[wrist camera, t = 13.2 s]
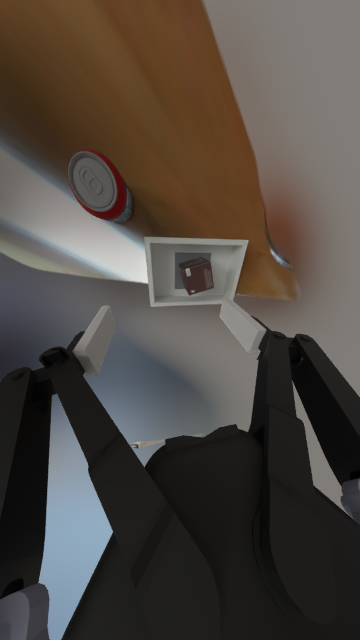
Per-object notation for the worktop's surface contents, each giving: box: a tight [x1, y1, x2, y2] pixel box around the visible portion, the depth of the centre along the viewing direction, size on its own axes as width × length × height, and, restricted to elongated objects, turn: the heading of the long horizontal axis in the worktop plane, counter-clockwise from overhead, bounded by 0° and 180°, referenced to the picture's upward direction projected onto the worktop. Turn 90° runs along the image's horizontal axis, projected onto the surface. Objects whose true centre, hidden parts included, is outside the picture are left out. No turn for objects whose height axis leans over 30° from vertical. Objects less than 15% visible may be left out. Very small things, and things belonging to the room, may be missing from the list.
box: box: [178, 257, 214, 296], centre depth 32 cm, size 6×6×7 cm
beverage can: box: [68, 150, 134, 223], centre depth 22 cm, size 7×7×12 cm
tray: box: [144, 237, 249, 307], centre depth 34 cm, size 22×15×5 cm
